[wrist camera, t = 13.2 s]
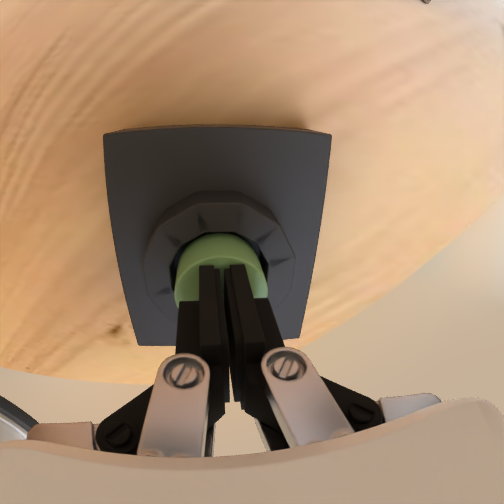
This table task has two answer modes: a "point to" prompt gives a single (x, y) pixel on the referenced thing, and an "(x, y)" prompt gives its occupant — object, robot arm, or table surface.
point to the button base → (214, 211)
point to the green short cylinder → (217, 264)
